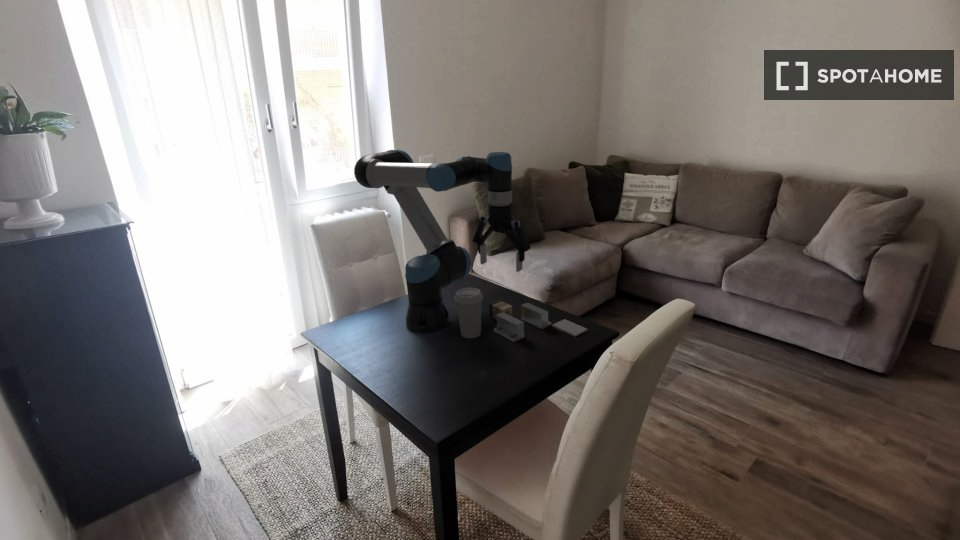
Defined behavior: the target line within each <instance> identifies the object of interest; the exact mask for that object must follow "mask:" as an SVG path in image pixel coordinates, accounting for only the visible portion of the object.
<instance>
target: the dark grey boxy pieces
mask: <svg viewBox="0 0 960 540" xmlns="http://www.w3.org/2000/svg"><path fill="white" fill-rule="evenodd" d="M496 316H497V320H496V327H495V328H493V332H494V333H496V334H497V335H499V336H502V337H503V338H505V339H507V340H509V341H511V342H512V343H515V342H517V341H520V340H521V339H524V338H525V323H528V324H529V325H532V326H534V327H536V328H538V329H541V330H543V329H545V328H548V327H550V326H552V322H551V321H550V320H549V311H548V310H546V309H543V308H541V307H539V306H536V305H534V304H532V303H529V302H526V303H525V302H524V303H522V304H521V305H520V319H521V320H520V319H518V318H516V317H515V316H514V317H512V316H510V315H508V314H506V313H504V312H503V313H500V314H498V315H496Z"/></svg>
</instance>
